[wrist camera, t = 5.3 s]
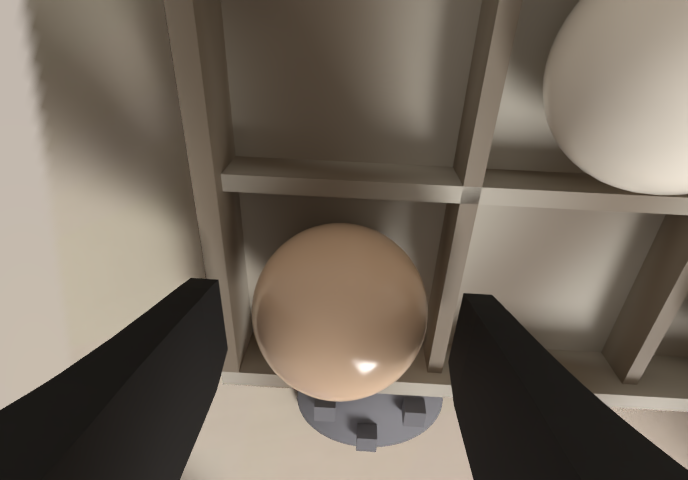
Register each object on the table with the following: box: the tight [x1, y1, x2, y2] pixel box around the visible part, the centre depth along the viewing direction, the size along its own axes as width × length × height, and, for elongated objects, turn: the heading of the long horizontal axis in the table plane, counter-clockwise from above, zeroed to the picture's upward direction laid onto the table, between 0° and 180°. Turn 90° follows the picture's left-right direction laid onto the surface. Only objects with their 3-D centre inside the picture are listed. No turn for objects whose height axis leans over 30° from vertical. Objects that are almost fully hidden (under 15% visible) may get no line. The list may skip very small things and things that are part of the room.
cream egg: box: [543, 0, 688, 195], centre depth 7 cm, size 4×4×4 cm
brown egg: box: [252, 223, 428, 402], centre depth 10 cm, size 4×4×4 cm
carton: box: [163, 0, 688, 412], centre depth 10 cm, size 17×12×2 cm
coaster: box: [297, 391, 443, 452], centre depth 14 cm, size 5×5×1 cm
